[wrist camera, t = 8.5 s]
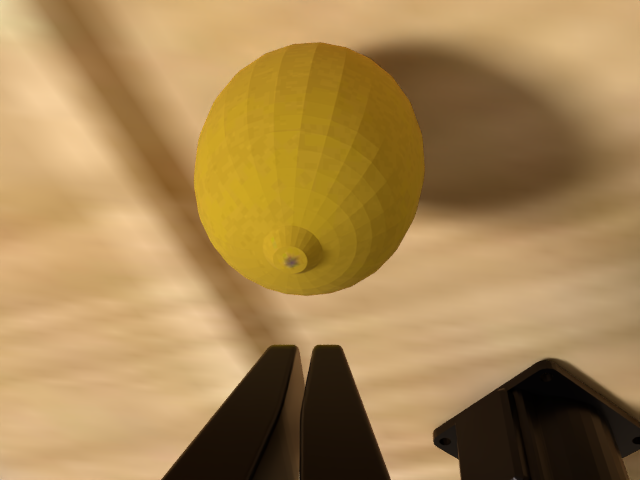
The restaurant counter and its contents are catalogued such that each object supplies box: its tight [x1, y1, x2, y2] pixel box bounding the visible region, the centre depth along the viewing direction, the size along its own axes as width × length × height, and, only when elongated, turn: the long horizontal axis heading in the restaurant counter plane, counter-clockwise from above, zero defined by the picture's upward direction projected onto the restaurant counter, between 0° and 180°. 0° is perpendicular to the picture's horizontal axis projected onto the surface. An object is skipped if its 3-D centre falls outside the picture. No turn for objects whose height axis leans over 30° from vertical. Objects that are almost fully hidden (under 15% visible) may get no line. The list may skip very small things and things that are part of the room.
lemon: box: [194, 42, 425, 296], centre depth 15 cm, size 6×6×8 cm
